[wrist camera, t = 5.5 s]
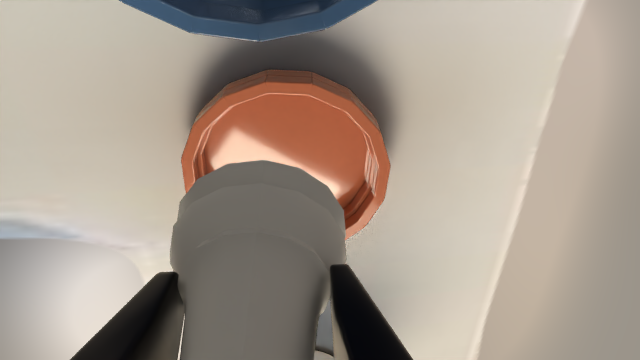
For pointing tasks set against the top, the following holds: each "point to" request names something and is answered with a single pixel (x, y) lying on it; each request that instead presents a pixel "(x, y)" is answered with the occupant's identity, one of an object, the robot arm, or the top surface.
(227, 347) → the rook chess piece
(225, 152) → the orange round lid
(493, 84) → the top surface
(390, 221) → the top surface
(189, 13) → the bowl
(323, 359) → the pill bottle
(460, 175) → the top surface
